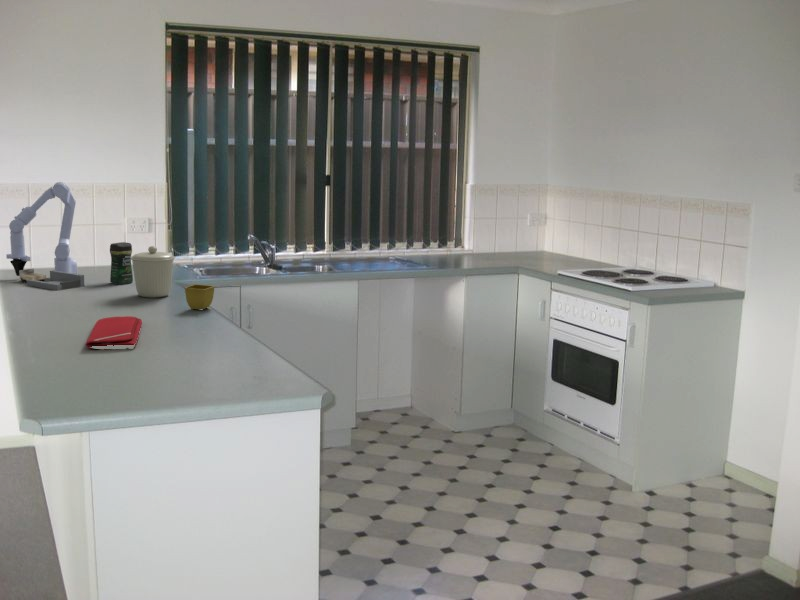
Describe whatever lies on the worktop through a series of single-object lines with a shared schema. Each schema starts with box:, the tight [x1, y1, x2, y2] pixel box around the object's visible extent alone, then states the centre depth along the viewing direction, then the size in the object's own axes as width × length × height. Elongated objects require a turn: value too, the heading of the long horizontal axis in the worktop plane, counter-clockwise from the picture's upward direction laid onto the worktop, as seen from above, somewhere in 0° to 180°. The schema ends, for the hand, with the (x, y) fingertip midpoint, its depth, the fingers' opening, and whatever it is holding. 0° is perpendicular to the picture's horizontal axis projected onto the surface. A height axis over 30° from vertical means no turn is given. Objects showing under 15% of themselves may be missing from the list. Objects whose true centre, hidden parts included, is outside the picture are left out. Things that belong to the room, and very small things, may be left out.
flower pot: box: [184, 283, 215, 310], centre depth 349 cm, size 9×9×9 cm
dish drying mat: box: [85, 316, 143, 348], centre depth 302 cm, size 16×41×4 cm, turn 13°
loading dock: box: [26, 269, 85, 291], centre depth 392 cm, size 14×20×6 cm
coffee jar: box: [109, 241, 134, 285], centre depth 401 cm, size 10×8×19 cm
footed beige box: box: [18, 268, 47, 283], centre depth 400 cm, size 8×9×5 cm
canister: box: [130, 245, 176, 299], centre depth 373 cm, size 18×18×21 cm
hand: (19, 275), depth 405 cm, fingers closed
